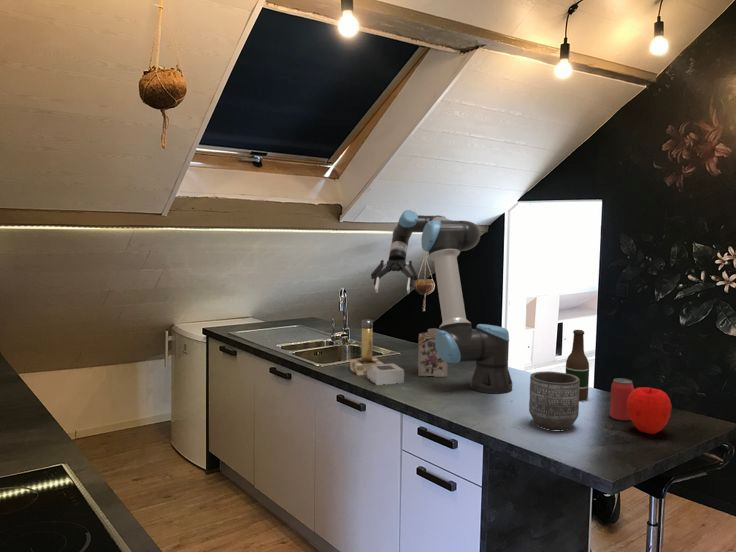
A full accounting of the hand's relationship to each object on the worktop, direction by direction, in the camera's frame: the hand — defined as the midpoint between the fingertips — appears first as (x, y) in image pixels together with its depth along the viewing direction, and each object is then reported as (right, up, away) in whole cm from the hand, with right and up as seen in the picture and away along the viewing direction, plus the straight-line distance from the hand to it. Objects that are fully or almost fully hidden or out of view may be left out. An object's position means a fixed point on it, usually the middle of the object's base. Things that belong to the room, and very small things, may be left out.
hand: (391, 291), depth 252 cm
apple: (+71, -39, -78) cm, 113 cm away
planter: (+46, -39, -72) cm, 94 cm away
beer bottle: (+63, -36, -44) cm, 85 cm away
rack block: (-11, -32, -8) cm, 35 cm away
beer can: (+69, -38, -65) cm, 102 cm away
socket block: (-3, -34, -22) cm, 41 cm away
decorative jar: (+16, -33, -11) cm, 38 cm away
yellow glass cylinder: (-11, -32, -8) cm, 35 cm away
